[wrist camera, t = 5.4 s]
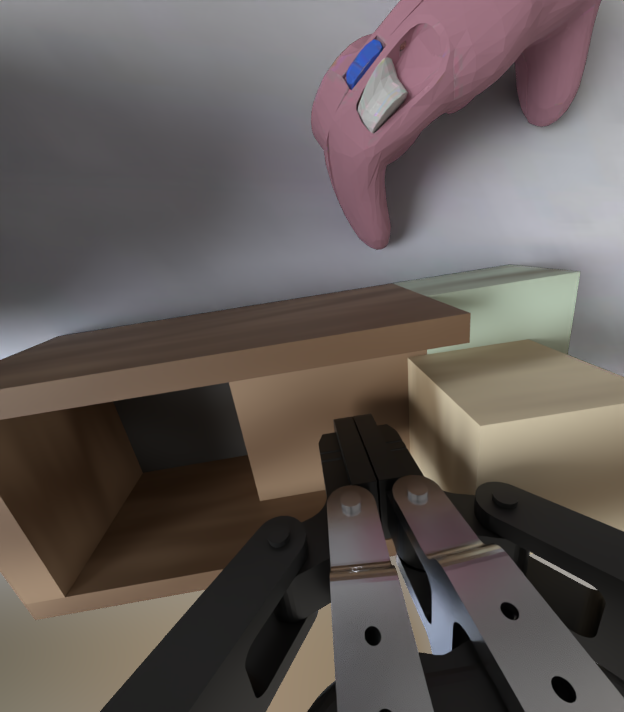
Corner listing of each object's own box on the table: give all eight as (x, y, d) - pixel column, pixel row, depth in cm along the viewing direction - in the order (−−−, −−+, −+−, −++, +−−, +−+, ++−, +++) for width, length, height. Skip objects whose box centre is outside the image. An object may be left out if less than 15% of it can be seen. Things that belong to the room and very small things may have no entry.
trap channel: (58, 336, 15) (-118, 408, 8) (509, 264, 16) (672, 280, 9) (125, 484, 18) (35, 620, 12) (497, 421, 19) (611, 516, 12)
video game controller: (495, 49, 14) (614, -260, 7) (563, 123, 13) (768, -137, 6) (316, 193, 15) (269, 51, 8) (370, 265, 15) (367, 177, 8)
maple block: (407, 357, 12) (480, 426, 8) (527, 339, 13) (671, 395, 8) (410, 458, 14) (470, 564, 10) (516, 441, 14) (627, 537, 10)
